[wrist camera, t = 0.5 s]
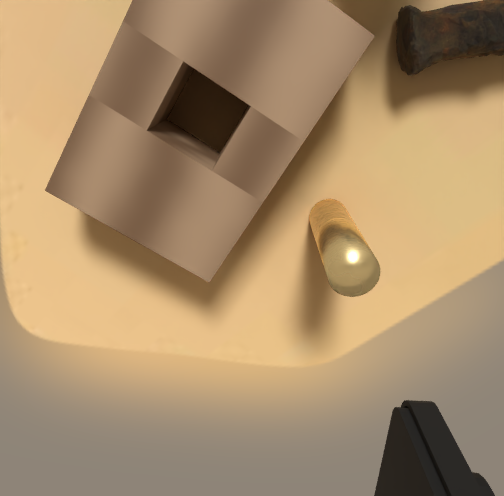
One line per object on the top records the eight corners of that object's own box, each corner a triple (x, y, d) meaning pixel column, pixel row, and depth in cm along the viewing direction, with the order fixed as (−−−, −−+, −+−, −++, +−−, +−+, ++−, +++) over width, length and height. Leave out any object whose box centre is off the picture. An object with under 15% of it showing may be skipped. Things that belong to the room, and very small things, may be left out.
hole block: (353, 41, 29) (374, 35, 24) (217, 248, 35) (209, 282, 30) (198, -74, 27) (182, -109, 22) (80, 169, 33) (44, 190, 28)
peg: (355, 212, 34) (391, 266, 25) (332, 242, 35) (358, 305, 26) (324, 191, 34) (348, 240, 24) (301, 223, 35) (317, 280, 25)
